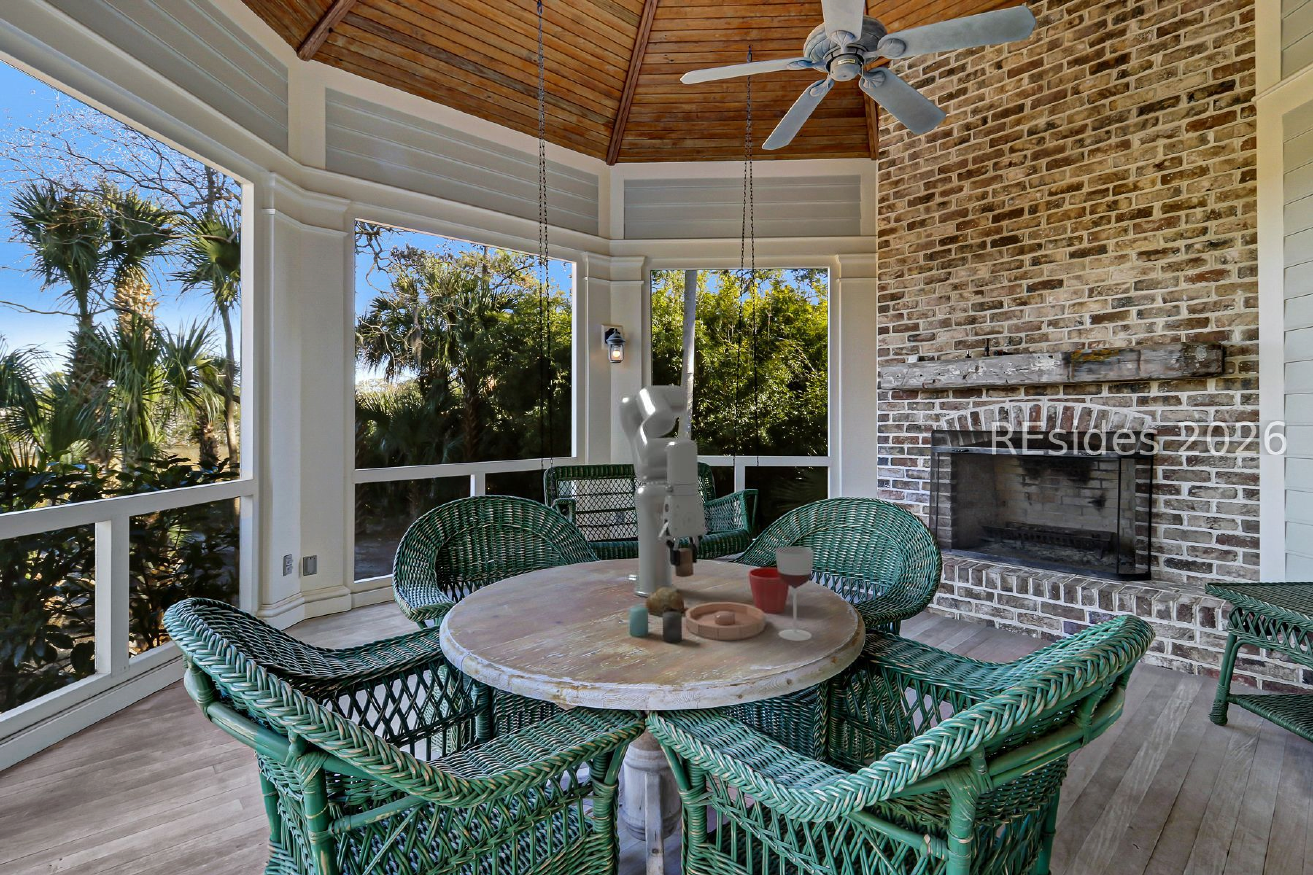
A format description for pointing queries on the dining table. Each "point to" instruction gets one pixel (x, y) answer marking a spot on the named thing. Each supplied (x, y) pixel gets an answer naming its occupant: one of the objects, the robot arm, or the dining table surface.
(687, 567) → the bead
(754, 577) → the flower pot
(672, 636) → the bead
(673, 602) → the bread roll
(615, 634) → the dining table surface
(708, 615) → the groove dish
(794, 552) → the wineglass
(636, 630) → the teal capsule
